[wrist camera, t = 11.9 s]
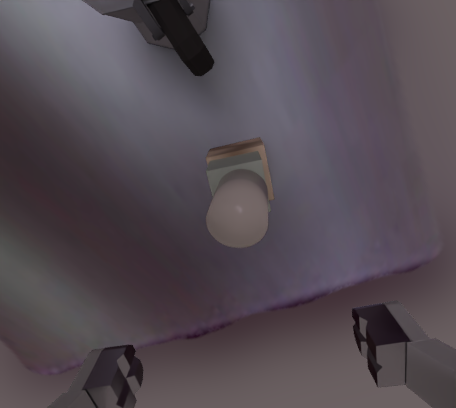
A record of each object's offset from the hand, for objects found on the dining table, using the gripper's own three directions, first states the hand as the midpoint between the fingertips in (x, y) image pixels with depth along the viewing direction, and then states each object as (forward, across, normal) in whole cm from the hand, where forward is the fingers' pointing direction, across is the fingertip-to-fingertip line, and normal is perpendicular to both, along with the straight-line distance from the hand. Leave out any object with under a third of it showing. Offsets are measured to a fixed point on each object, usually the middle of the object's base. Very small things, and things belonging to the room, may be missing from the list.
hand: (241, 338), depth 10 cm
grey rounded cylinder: (+16, -1, 0) cm, 16 cm away
